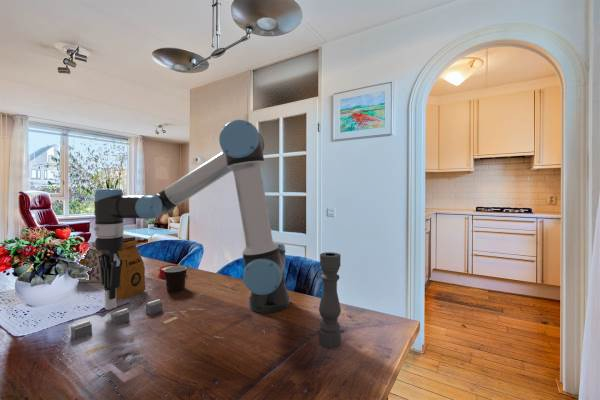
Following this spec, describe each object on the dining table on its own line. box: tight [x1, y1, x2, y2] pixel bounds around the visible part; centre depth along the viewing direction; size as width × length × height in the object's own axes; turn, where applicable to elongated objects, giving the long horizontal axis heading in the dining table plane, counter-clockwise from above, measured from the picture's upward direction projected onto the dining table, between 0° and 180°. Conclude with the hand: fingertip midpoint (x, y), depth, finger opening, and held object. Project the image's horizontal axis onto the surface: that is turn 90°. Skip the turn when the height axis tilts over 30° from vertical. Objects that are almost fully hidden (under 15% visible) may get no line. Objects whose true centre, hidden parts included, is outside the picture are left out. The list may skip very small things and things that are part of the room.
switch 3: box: [145, 298, 163, 316], centre depth 95 cm, size 3×4×4 cm
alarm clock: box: [157, 264, 179, 279], centre depth 139 cm, size 10×6×15 cm
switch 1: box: [70, 320, 93, 341], centre depth 80 cm, size 3×4×4 cm
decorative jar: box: [77, 241, 102, 283], centre depth 134 cm, size 12×12×18 cm
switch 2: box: [110, 307, 130, 327], centre depth 88 cm, size 3×4×4 cm
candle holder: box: [318, 251, 342, 349], centre depth 79 cm, size 6×6×25 cm
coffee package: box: [116, 239, 147, 301], centre depth 112 cm, size 10×12×22 cm
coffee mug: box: [164, 265, 188, 293], centre depth 118 cm, size 12×9×10 cm
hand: (110, 307), depth 92 cm, fingers closed
